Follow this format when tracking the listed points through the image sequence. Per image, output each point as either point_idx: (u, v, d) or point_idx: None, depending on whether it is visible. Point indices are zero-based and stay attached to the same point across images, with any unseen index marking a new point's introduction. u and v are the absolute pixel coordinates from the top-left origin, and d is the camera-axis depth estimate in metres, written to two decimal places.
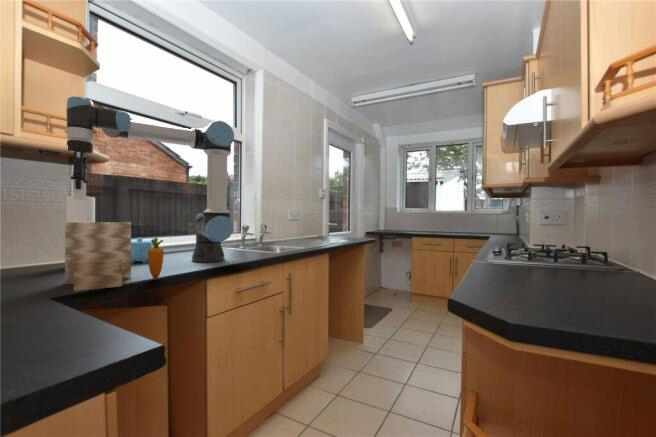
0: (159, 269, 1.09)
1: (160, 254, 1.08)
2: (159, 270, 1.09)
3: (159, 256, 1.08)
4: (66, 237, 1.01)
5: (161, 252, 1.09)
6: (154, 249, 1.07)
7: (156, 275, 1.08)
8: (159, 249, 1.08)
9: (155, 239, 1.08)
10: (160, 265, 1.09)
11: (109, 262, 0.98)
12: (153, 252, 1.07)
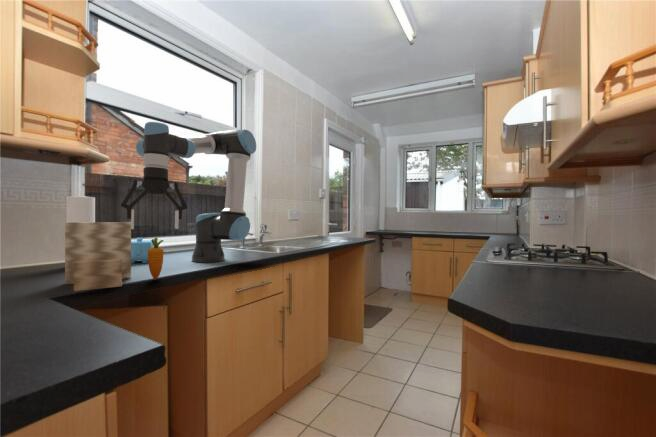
0: (159, 269, 1.09)
1: (160, 254, 1.08)
2: (159, 270, 1.09)
3: (159, 256, 1.08)
4: (66, 237, 1.01)
5: (161, 252, 1.09)
6: (154, 249, 1.07)
7: (156, 275, 1.08)
8: (159, 249, 1.08)
9: (155, 239, 1.08)
10: (160, 265, 1.09)
11: (109, 262, 0.98)
12: (153, 252, 1.07)
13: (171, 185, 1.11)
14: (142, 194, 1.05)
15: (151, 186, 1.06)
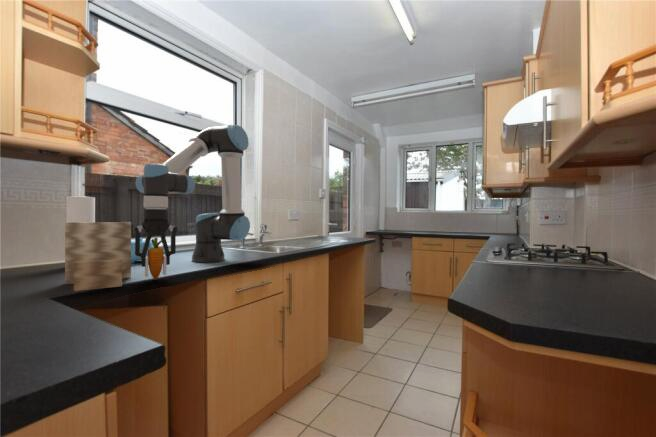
0: (159, 269, 1.09)
1: (160, 254, 1.08)
2: (159, 270, 1.09)
3: (159, 256, 1.08)
4: (66, 237, 1.01)
5: (161, 252, 1.09)
6: (154, 249, 1.07)
7: (156, 275, 1.08)
8: (159, 249, 1.08)
9: (155, 239, 1.08)
10: (160, 265, 1.09)
11: (109, 262, 0.98)
12: (153, 252, 1.07)
13: (171, 227, 1.11)
14: (148, 239, 1.07)
15: (152, 228, 1.07)
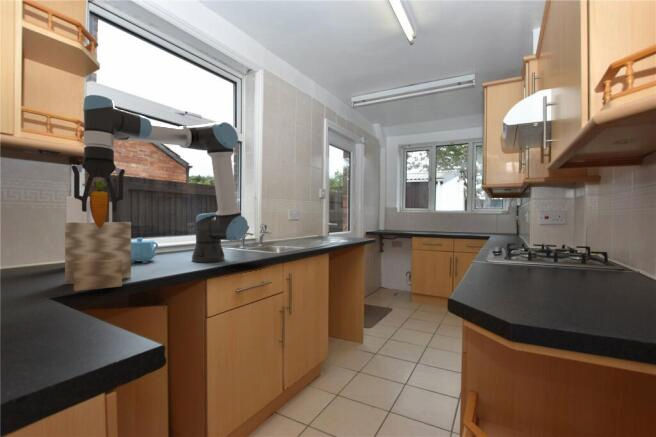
0: (103, 215, 0.97)
1: (104, 199, 0.96)
2: (103, 217, 0.97)
3: (103, 201, 0.96)
4: (66, 237, 1.01)
5: (105, 196, 0.97)
6: (97, 192, 0.95)
7: (100, 222, 0.97)
8: (103, 193, 0.96)
9: (98, 181, 0.96)
10: (104, 211, 0.97)
11: (109, 262, 0.98)
12: (96, 195, 0.95)
13: (118, 169, 0.99)
14: (89, 180, 0.95)
15: (93, 168, 0.95)
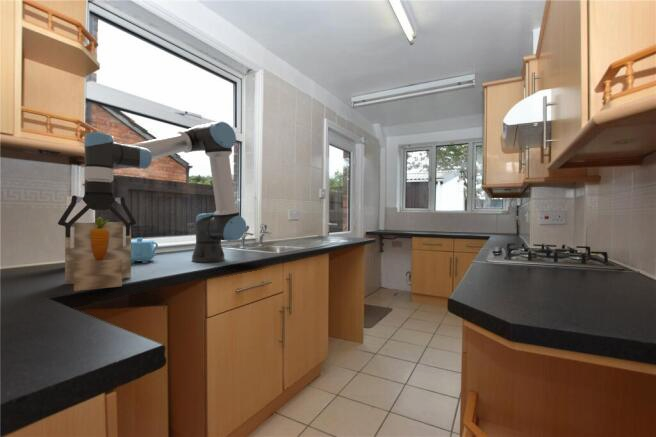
0: (103, 251, 1.01)
1: (104, 235, 1.00)
2: (103, 252, 1.01)
3: (103, 237, 1.00)
4: (66, 237, 1.01)
5: (105, 233, 1.01)
6: (97, 229, 0.99)
7: (99, 258, 1.01)
8: (103, 230, 1.00)
9: (99, 219, 1.00)
10: (104, 247, 1.01)
11: (109, 262, 0.98)
12: (96, 232, 0.99)
13: (117, 199, 1.04)
14: (83, 210, 0.98)
15: (93, 202, 0.99)
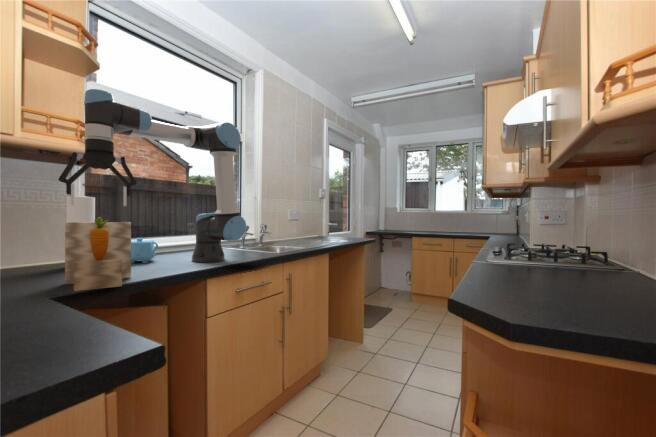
0: (103, 251, 1.01)
1: (104, 235, 1.00)
2: (103, 252, 1.01)
3: (103, 237, 1.00)
4: (66, 237, 1.01)
5: (105, 233, 1.01)
6: (97, 229, 0.99)
7: (99, 258, 1.01)
8: (103, 230, 1.00)
9: (98, 219, 1.00)
10: (104, 247, 1.01)
11: (109, 262, 0.98)
12: (96, 232, 0.99)
13: (118, 159, 1.03)
14: (83, 168, 0.98)
15: (93, 159, 0.98)
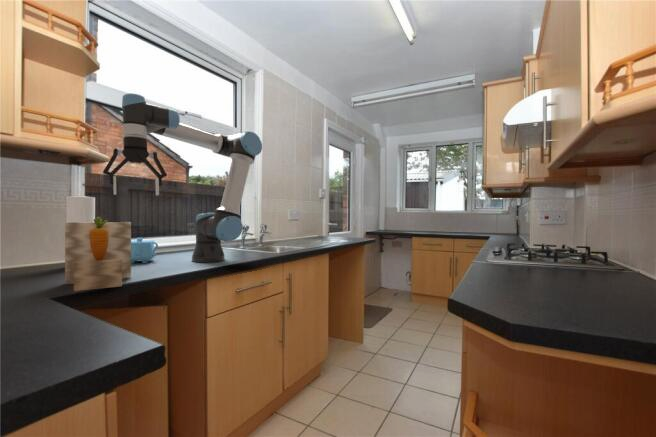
0: (103, 251, 1.01)
1: (103, 235, 1.00)
2: (103, 252, 1.01)
3: (102, 237, 1.00)
4: (66, 237, 1.01)
5: (105, 233, 1.01)
6: (96, 229, 1.00)
7: (99, 257, 1.01)
8: (102, 229, 1.00)
9: (97, 218, 1.00)
10: (104, 247, 1.01)
11: (109, 262, 0.98)
12: (95, 232, 0.99)
13: (151, 154, 1.19)
14: (123, 162, 1.13)
15: (131, 154, 1.14)
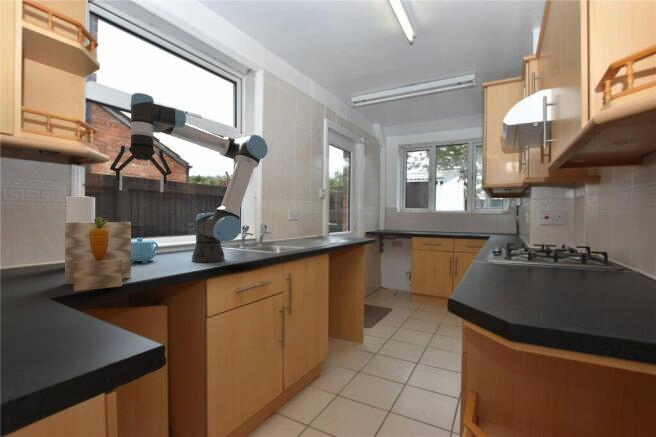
0: (103, 251, 1.01)
1: (104, 235, 1.00)
2: (103, 252, 1.01)
3: (102, 237, 1.00)
4: (66, 237, 1.01)
5: (105, 233, 1.01)
6: (97, 229, 0.99)
7: (99, 258, 1.01)
8: (102, 229, 1.00)
9: (98, 219, 1.00)
10: (104, 247, 1.01)
11: (109, 262, 0.98)
12: (96, 232, 0.99)
13: (156, 152, 1.22)
14: (129, 159, 1.17)
15: (137, 152, 1.17)
